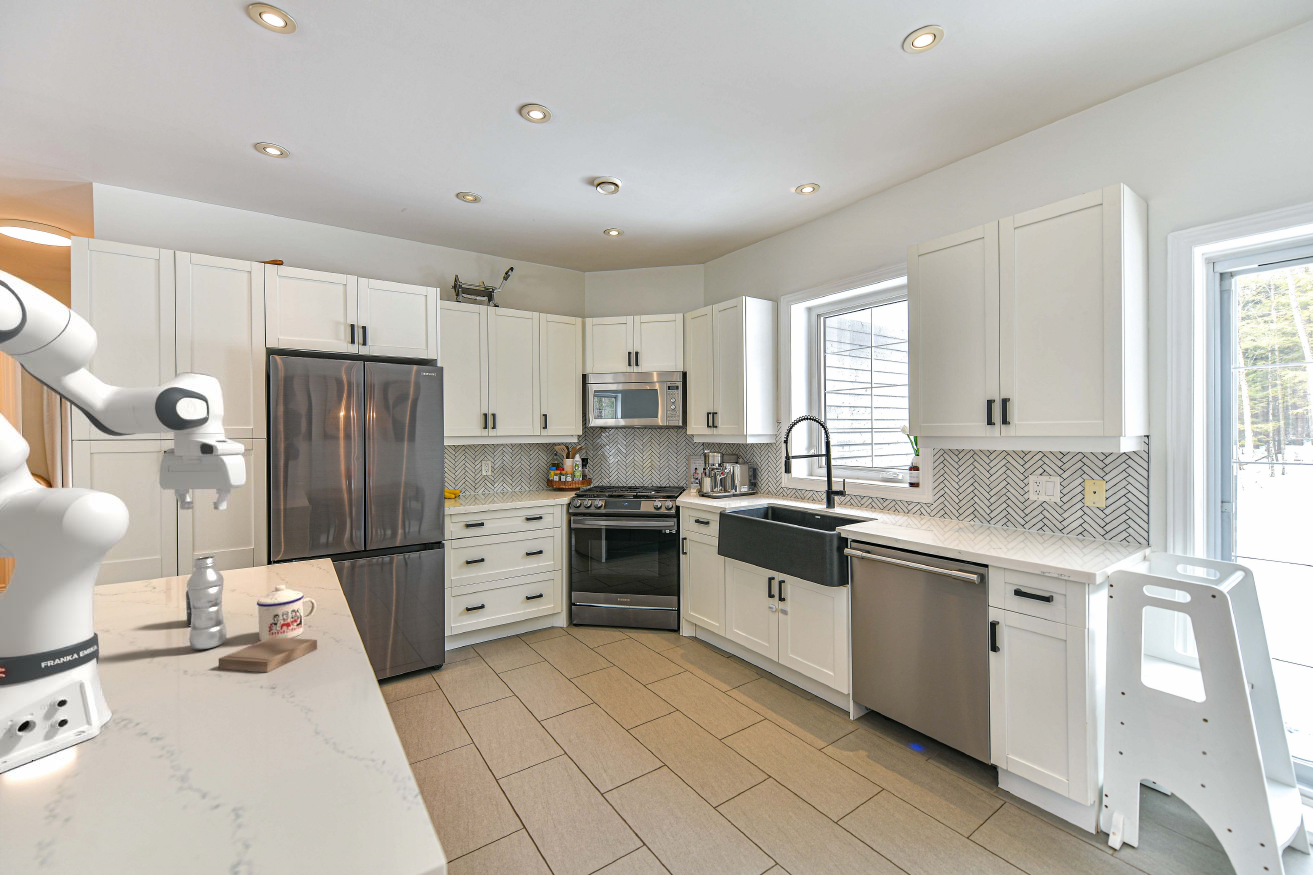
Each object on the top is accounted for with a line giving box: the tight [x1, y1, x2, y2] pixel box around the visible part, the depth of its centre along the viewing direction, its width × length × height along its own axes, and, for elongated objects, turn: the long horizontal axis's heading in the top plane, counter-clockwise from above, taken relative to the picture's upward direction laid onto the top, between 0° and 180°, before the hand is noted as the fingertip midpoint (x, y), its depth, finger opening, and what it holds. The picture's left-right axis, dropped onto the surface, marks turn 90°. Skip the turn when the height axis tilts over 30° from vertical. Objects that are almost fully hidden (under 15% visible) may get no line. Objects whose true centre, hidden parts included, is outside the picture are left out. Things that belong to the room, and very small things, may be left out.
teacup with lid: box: [256, 584, 317, 641], centre depth 132 cm, size 12×9×12 cm
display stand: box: [218, 637, 318, 673], centre depth 118 cm, size 12×12×2 cm
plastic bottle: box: [186, 555, 228, 651], centre depth 125 cm, size 6×7×20 cm
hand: (203, 509), depth 125 cm, fingers open, 8 cm apart
